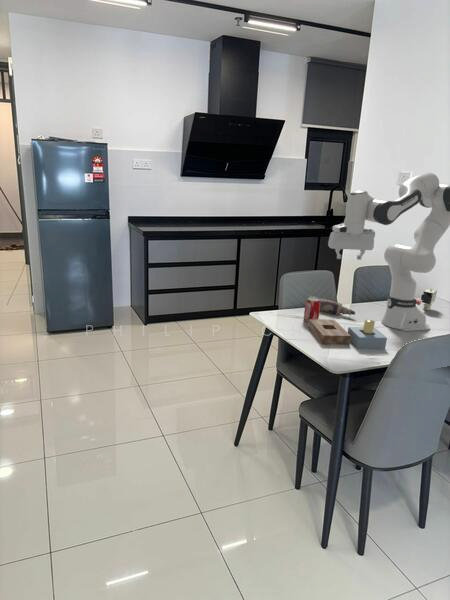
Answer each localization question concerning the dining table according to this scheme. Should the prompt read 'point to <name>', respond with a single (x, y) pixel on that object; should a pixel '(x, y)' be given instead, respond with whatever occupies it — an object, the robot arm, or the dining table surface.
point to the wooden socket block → (329, 332)
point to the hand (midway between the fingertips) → (348, 259)
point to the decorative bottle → (333, 307)
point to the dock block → (367, 338)
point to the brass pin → (368, 327)
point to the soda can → (312, 309)
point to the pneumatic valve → (428, 298)
